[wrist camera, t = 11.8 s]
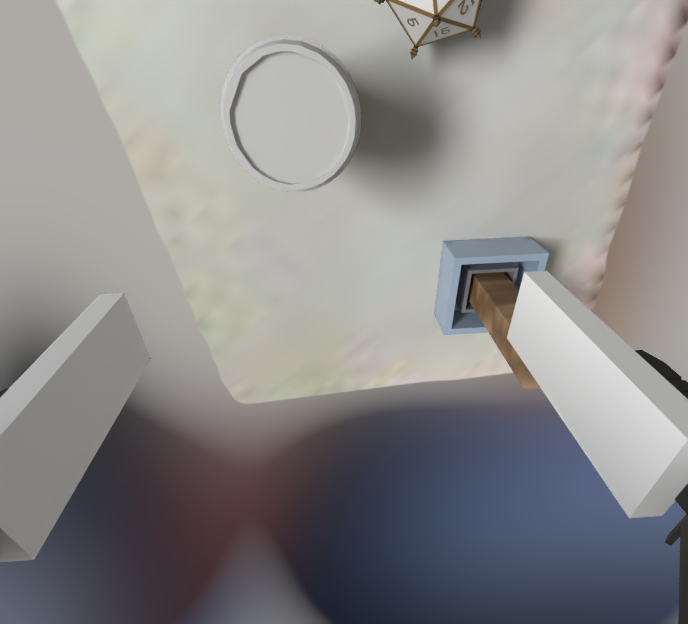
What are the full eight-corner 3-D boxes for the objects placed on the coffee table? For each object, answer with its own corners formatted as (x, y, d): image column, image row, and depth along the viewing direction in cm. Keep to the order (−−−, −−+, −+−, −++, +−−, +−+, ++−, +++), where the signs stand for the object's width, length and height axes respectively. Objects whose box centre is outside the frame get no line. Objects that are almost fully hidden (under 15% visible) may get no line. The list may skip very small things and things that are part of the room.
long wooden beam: (469, 268, 44) (533, 357, 30) (498, 267, 44) (576, 355, 30) (464, 294, 46) (523, 388, 32) (493, 292, 46) (563, 386, 32)
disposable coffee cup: (312, 16, 31) (308, -7, 21) (369, 124, 35) (388, 148, 26) (224, 87, 33) (183, 97, 23) (288, 180, 38) (277, 221, 28)
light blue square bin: (443, 241, 42) (454, 258, 39) (529, 236, 43) (549, 253, 39) (434, 313, 48) (443, 334, 44) (510, 309, 48) (526, 330, 45)
